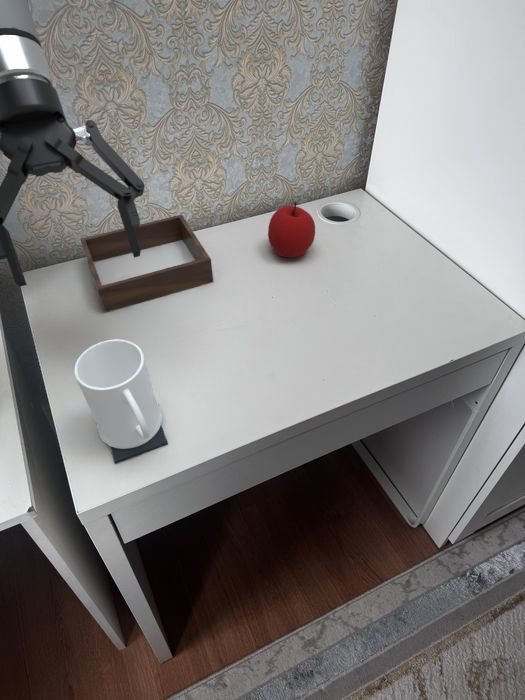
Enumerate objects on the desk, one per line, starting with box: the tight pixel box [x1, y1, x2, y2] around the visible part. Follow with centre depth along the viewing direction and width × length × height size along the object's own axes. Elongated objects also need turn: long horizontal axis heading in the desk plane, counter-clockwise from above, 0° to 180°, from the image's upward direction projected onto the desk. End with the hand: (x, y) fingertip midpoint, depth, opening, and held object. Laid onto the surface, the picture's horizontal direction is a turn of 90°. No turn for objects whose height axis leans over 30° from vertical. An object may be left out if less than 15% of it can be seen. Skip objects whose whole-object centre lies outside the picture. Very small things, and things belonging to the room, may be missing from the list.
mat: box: [109, 425, 169, 465], centre depth 64 cm, size 7×7×1 cm
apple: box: [267, 201, 316, 258], centre depth 90 cm, size 9×9×10 cm
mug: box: [74, 339, 163, 449], centre depth 60 cm, size 12×8×12 cm
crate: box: [79, 214, 214, 313], centre depth 88 cm, size 16×20×5 cm
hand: (81, 269), depth 57 cm, fingers open, 13 cm apart
